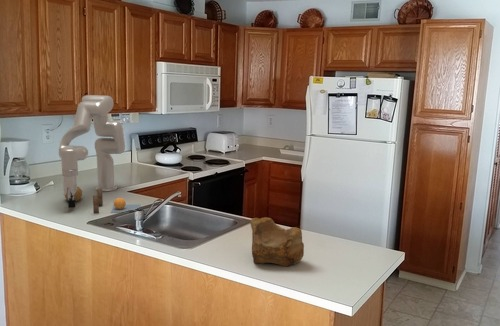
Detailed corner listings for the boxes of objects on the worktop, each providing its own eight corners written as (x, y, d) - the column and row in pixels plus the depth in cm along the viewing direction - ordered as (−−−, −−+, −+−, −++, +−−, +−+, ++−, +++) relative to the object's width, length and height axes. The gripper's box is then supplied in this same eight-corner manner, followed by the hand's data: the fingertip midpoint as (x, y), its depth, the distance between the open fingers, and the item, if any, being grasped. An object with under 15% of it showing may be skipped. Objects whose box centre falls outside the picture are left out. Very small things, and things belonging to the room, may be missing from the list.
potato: (65, 204, 251) (64, 190, 249) (63, 198, 263) (62, 184, 261) (84, 202, 255) (84, 188, 253) (81, 196, 267) (80, 183, 266)
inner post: (98, 205, 250) (97, 188, 249) (103, 205, 251) (102, 188, 249) (97, 206, 248) (96, 190, 246) (102, 206, 248) (101, 190, 247)
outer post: (94, 212, 238) (93, 195, 236) (99, 212, 238) (98, 195, 236) (93, 213, 235) (92, 196, 233) (98, 213, 236) (97, 196, 234)
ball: (120, 194, 246) (129, 201, 247) (113, 202, 246) (121, 209, 247) (117, 197, 240) (126, 204, 241) (109, 205, 240) (118, 213, 241)
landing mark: (114, 205, 251) (114, 205, 251) (140, 204, 253) (140, 204, 253) (110, 212, 237) (110, 212, 237) (138, 212, 239) (138, 211, 239)
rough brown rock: (232, 261, 180) (231, 225, 176) (257, 246, 193) (257, 212, 189) (283, 279, 167) (283, 241, 163) (306, 261, 179) (307, 225, 175)
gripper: (65, 169, 244) (67, 203, 247) (58, 175, 229) (60, 211, 233) (80, 169, 245) (82, 203, 248) (74, 175, 231) (76, 211, 234)
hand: (72, 207), depth 241 cm, fingers closed
